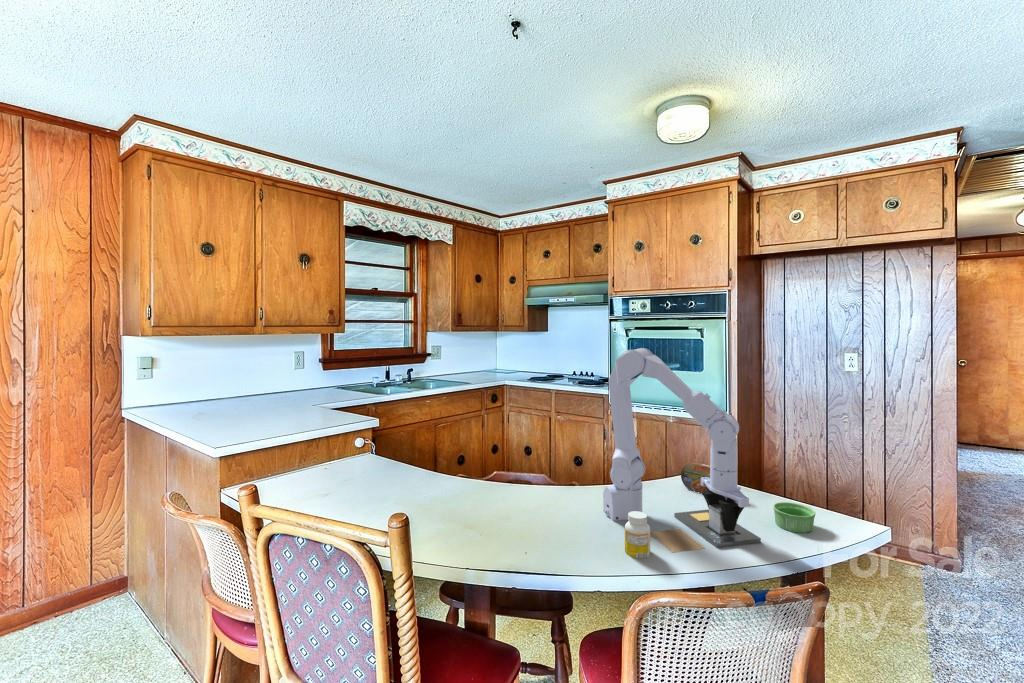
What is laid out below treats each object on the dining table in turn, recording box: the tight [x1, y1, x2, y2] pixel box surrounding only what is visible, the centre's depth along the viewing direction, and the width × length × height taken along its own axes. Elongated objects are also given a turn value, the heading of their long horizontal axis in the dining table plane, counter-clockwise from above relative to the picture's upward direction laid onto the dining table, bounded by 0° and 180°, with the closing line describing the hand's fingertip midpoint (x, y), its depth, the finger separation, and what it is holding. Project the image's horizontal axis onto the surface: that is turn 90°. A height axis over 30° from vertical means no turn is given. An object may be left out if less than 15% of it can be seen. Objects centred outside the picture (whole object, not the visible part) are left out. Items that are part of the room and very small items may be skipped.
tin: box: [680, 462, 710, 494], centre depth 140 cm, size 15×3×8 cm, turn 42°
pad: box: [650, 528, 706, 553], centre depth 108 cm, size 8×10×2 cm
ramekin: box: [773, 501, 817, 534], centre depth 118 cm, size 9×9×4 cm
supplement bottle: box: [624, 511, 651, 559], centre depth 102 cm, size 5×5×10 cm
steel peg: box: [708, 504, 735, 537], centre depth 110 cm, size 4×4×6 cm
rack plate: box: [673, 509, 762, 549], centre depth 113 cm, size 11×17×3 cm, turn 12°
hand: (723, 526), depth 110 cm, fingers closed on steel peg, 4 cm apart
